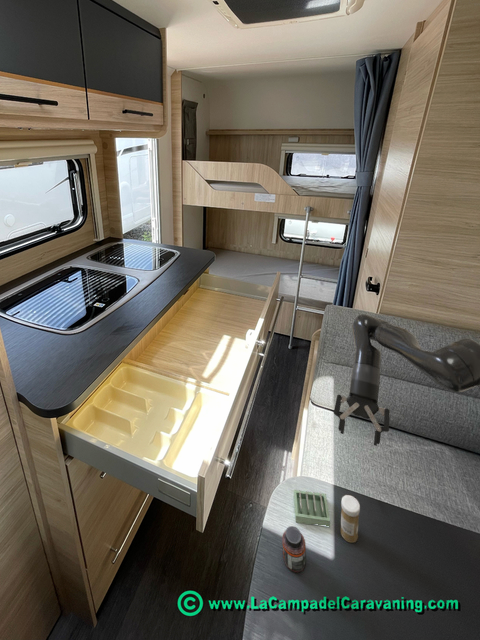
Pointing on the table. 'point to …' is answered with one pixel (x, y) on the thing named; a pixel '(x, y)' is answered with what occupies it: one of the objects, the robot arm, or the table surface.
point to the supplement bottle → (294, 549)
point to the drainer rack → (313, 504)
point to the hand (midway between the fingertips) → (358, 439)
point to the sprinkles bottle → (349, 518)
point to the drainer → (311, 509)
